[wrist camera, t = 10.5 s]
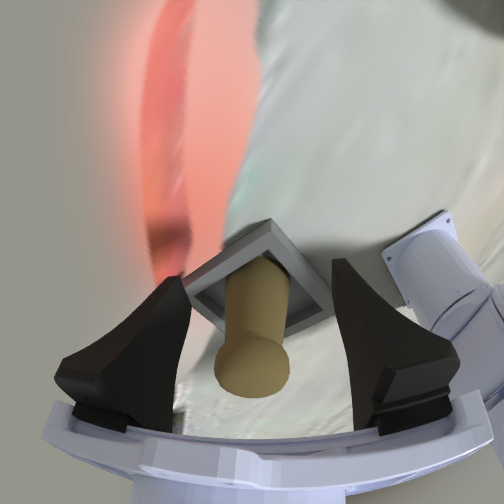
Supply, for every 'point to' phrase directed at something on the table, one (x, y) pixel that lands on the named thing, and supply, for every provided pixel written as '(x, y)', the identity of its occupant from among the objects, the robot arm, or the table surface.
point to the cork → (254, 330)
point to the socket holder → (247, 248)
